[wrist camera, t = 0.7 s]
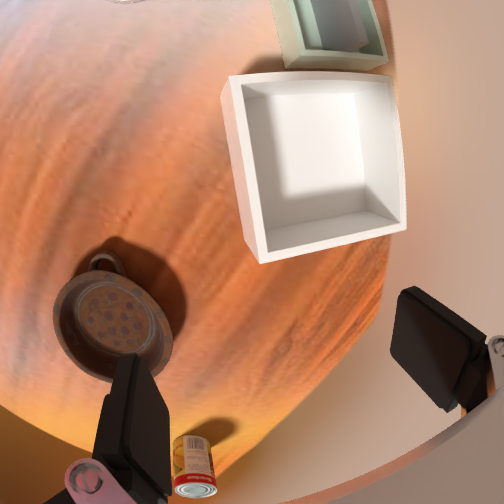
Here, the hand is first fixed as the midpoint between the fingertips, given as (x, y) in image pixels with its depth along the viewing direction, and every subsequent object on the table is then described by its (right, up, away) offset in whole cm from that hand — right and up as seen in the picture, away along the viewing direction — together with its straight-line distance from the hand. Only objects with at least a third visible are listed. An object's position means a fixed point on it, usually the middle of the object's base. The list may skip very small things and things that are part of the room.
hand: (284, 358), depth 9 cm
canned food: (-14, -36, +40) cm, 56 cm away
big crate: (+6, +16, +27) cm, 32 cm away
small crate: (+8, +35, +22) cm, 42 cm away
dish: (-21, -6, +29) cm, 36 cm away
